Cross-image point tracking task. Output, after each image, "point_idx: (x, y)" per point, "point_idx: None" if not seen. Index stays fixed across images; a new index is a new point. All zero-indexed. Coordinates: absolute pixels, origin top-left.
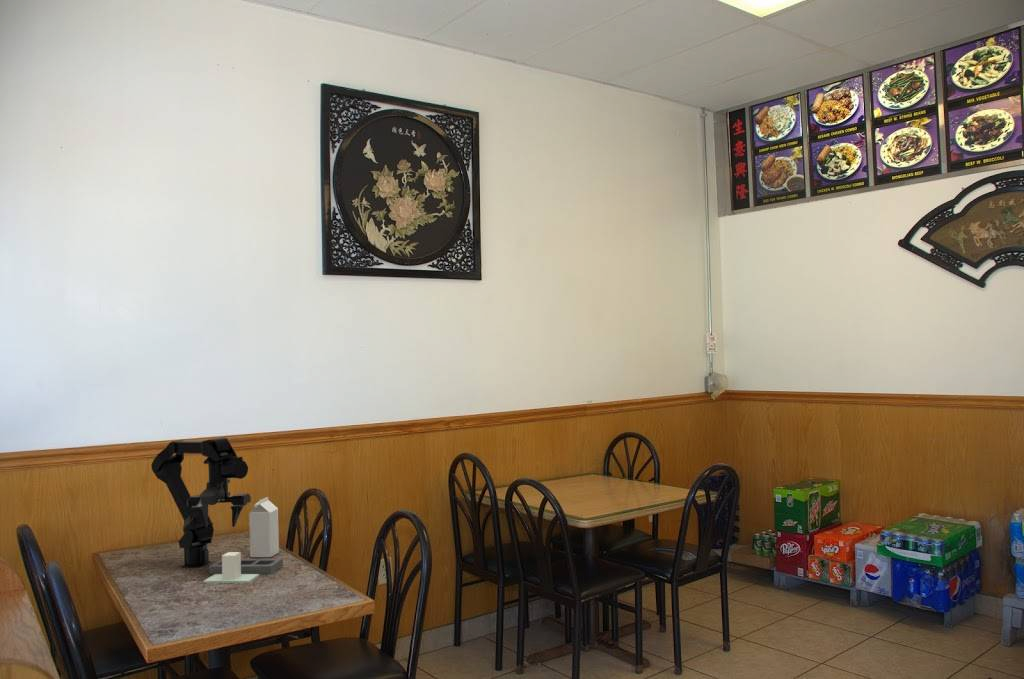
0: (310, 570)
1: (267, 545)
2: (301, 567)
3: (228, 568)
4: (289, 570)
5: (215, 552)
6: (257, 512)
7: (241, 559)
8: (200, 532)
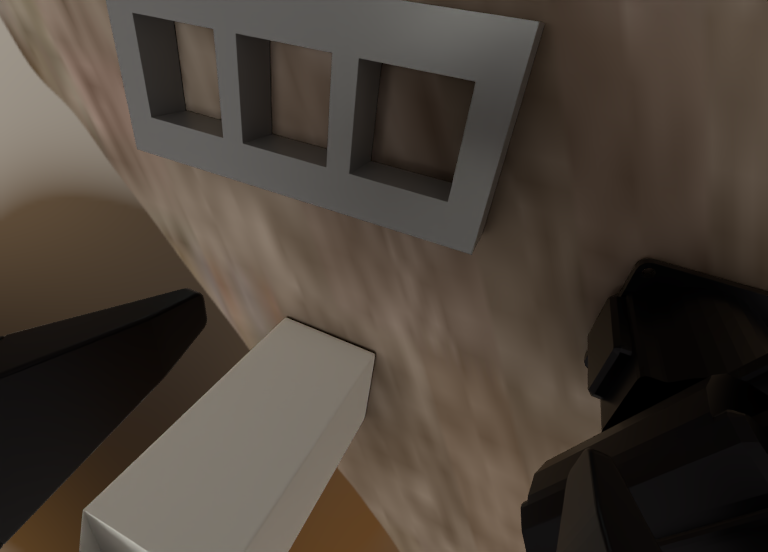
0: (25, 24)
1: (261, 355)
2: (89, 96)
3: None
4: (104, 43)
5: None
6: None
7: (340, 196)
8: (681, 454)
